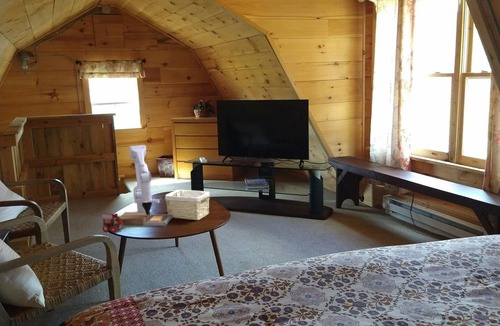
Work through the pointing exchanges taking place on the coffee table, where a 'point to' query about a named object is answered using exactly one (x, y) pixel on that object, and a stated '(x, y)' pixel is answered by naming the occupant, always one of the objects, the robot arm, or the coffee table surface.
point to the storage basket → (188, 204)
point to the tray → (163, 223)
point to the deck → (134, 218)
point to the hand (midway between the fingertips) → (148, 214)
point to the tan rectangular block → (156, 219)
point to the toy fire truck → (111, 222)
